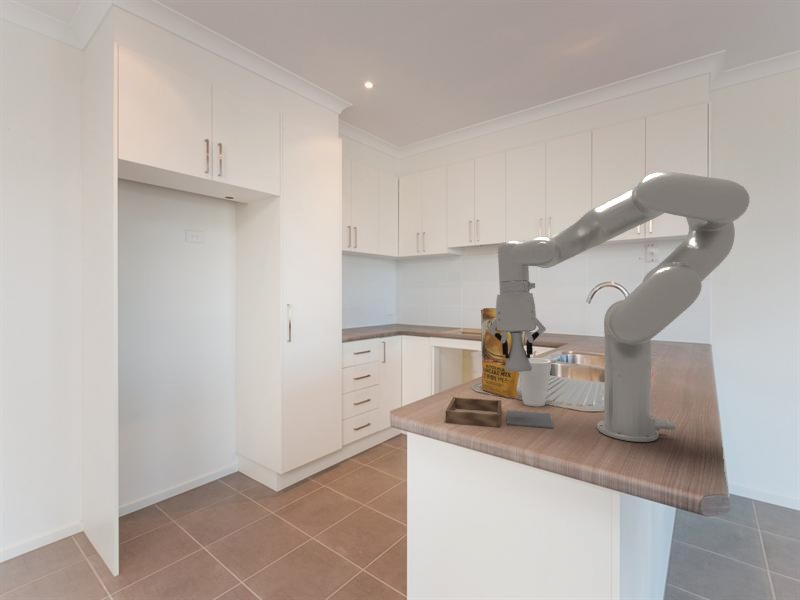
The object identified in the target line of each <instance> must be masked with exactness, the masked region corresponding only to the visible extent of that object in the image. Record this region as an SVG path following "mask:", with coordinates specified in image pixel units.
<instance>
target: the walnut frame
mask: <svg viewBox="0 0 800 600" xmlns="http://www.w3.org/2000/svg"><path fill="white" fill-rule="evenodd" d="M456 409H460V410H456ZM462 410H471V411H462ZM472 410H474V411H475V412H474V411H473V412H472ZM476 411H486V412H476ZM487 412H496V413H487ZM501 418H502V399H501V400H500V399H488V398H487V399H485V398H469V397H457V396H455V397H454V396H453V397H452V399H451V400H450V402H449V404H448V406H447V408H446V410H445V423H446V424H449V423H450V424H459V425H470V426H480V427H481V426H483V427H494V428H501Z"/></svg>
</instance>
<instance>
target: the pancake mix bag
mask: <svg viewBox="0 0 800 600" xmlns="http://www.w3.org/2000/svg"><path fill="white" fill-rule="evenodd" d="M480 314H481V316H480V318H481V325H480V326H481V334H480V335H481V336H480V337H481V344H480V346H481V348H480V349H481V366H482V367H481V368H482V373H481V385H480V388H481V389H482V390H483V391H484V392H487V393H490V394H494V395H495V396H496V395H497V396H500V397H503V398H506V399H507V398H508V399H512V398H513V399H518V397H519V396H518V392H517V387H518V383H519V379H520V377H519V372H516V371H507V370H504V368H505V365H506V361H507V358H505V355H503V352H502V343H501V341H499V340H498V339H497V338H496V337H495V336H494V335H492V334H491V333H489V332H488V329H489V328H490V326H491V325H492V324H493V322H494V321H495V320H496V307H494V308H493V307H484V308H482V309H480ZM495 331H496V332H498V333H499V334H500V335H502V333H503V332H501V331H498V330H497V326H496V328H495ZM526 337H527V335H526V332H523V334H522V343H523V347H524V348H525V345H526V342H525V341H526ZM506 340H507V343H508V355H509V351H510V348H511V341H512V338H511V334H510V332H508V333H507V337H506Z"/></svg>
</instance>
